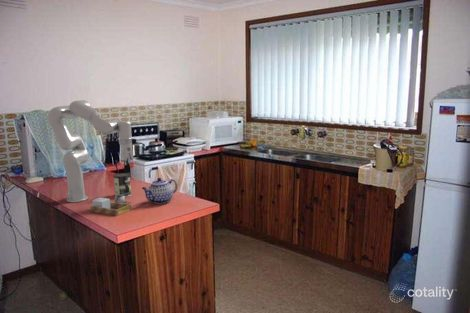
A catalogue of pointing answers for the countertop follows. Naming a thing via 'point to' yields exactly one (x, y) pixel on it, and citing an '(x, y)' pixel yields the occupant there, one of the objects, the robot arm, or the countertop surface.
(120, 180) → the coffee can
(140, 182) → the countertop surface
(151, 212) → the countertop surface
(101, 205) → the white rectangular block
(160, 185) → the teapot
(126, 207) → the bay
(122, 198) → the winch
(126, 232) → the countertop surface
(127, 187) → the crank
